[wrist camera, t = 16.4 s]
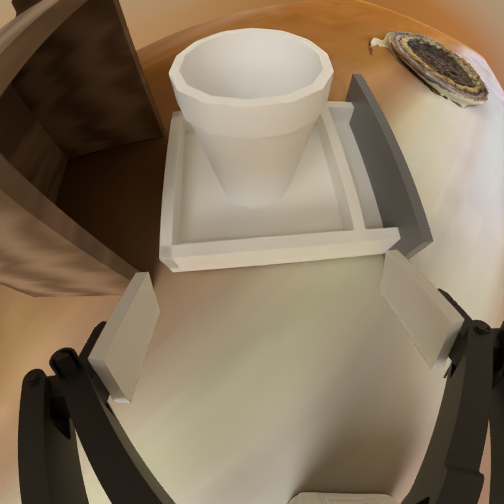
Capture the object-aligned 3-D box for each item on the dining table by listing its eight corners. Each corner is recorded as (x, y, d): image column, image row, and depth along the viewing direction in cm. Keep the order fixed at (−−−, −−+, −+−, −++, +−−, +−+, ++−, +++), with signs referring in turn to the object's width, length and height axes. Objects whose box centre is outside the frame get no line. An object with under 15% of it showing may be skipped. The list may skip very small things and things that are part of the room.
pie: (481, 80, 38) (489, 67, 33) (502, 157, 30) (517, 141, 25) (374, 26, 42) (379, 10, 37) (357, 78, 35) (364, 53, 30)
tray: (173, 289, 23) (143, 266, 17) (180, 125, 30) (167, 82, 24) (396, 268, 24) (433, 241, 17) (348, 116, 30) (361, 74, 24)
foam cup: (290, 136, 27) (302, 25, 15) (319, 213, 24) (360, 98, 12) (199, 151, 27) (169, 42, 15) (211, 234, 24) (168, 123, 12)
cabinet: (34, 296, 24) (-121, 217, 3) (64, 154, 30) (-16, 41, 10) (151, 293, 24) (-58, 135, 3) (164, 129, 30) (108, -32, 10)
